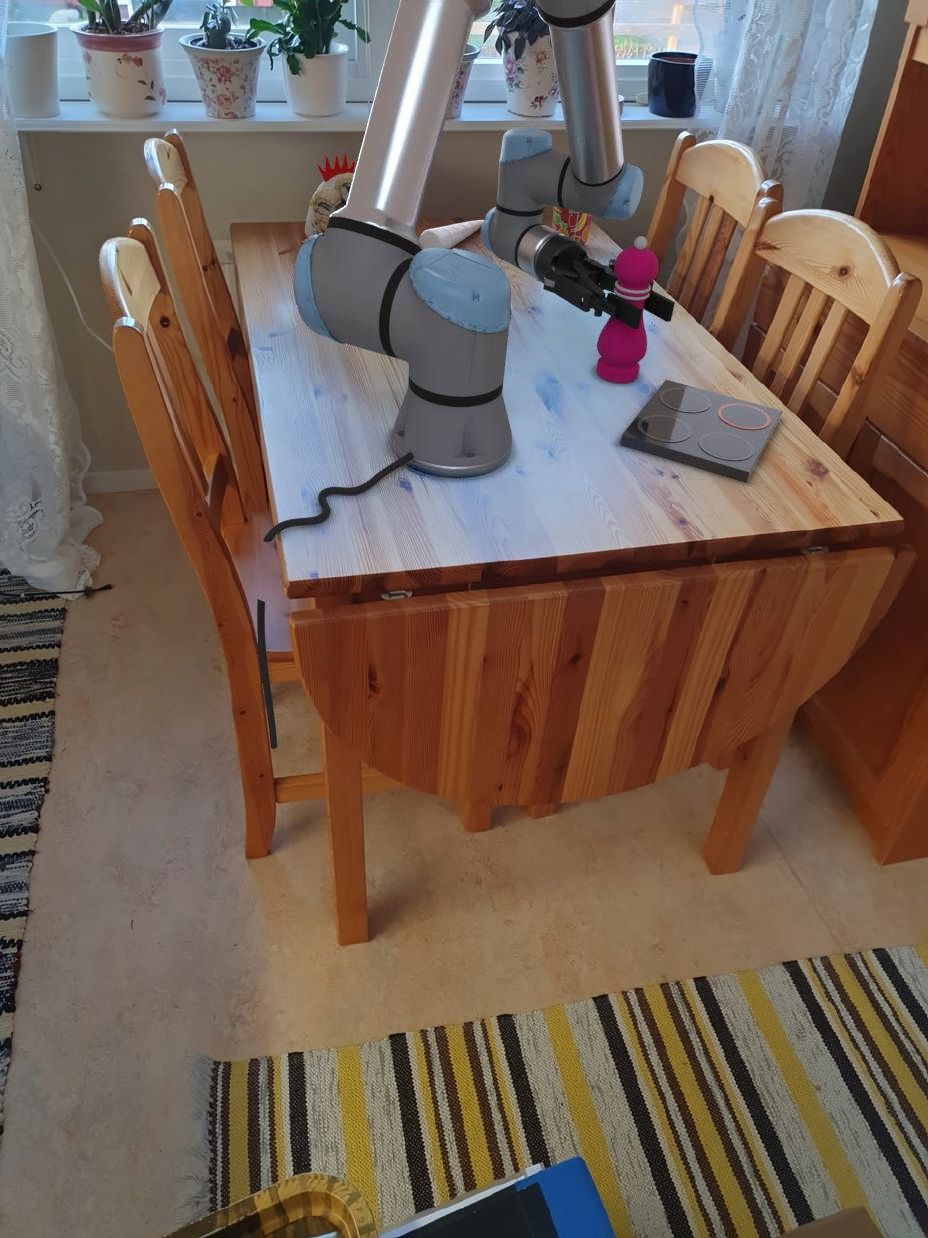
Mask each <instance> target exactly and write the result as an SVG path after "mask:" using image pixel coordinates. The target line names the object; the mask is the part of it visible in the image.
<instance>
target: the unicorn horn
mask: <svg viewBox="0 0 928 1238" xmlns="http://www.w3.org/2000/svg"><path fill="white" fill-rule="evenodd" d="M484 220H485V219H476V220H469V221H464V222H459V223H453V224H448V225H443V226H438V227H434V228H429V229H425V230H423V232H421V234H420V235H419V238H418V239H419V241H420V243H421V245H422V247H423V249H422V250H425V249H429V248H437V247H445V248H447V249H449V250H451V249H453V247H455V246H456V245H458V244H460V243H461V242H463V241H464V240H465V239H468V237H470V236H472V234H474V233H476V232H477V231H478V230H479V229H481V226H482V223H483V222H484Z"/></svg>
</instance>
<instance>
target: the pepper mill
mask: <svg viewBox="0 0 928 1238" xmlns="http://www.w3.org/2000/svg"><path fill="white" fill-rule="evenodd" d="M647 246H648V240H647V238H646V237H645V236H641V235H640V236H638V237H636V238H635V239H634V242H633V246H629V247H627V248H625V249H623V250H622V251H621V252H619V254H618V255H617V257H616V258H615V260H616V262H615V265H614V272H615V275H616V277H617V279H618V280H617V281H616V282H615V289H614V294H615V295H617V296H619V297H621V298H623V299H624V300H626V301H628V302H630V303H631V304H633V305H635V306H637V307H639V308H640V309H642V314H641V319H640V325H639V329H635V330H634V329H633V328H631V327H629V326H627V325H626V324H624V323H622V322H621V321H619V320H617V319H615V318H614V317H612V316H610V315H609V318H608V320H607V321H606V323H605V325H604V326H603V327H602V329H601V332H600V334H599V336H598V339H597V343H596V349H597V352H598V354H599V356H600V357H599V358H598V359H597V363H596V369H595V372H596V375H597V376H598V377H599V378H600V379H602V380H604V381H606V382H609V383H613V384H629V383H633V382H635V381H636V380H638V377H639V375H640V374H639V373H640V368H641V366H640V363H639V362H640V361H642V360H643V359H644V358H645V356H646V354H647V349H648V336H647V331H646V326H645V322H644V304H645V300H646V299H647V298H648V297H649V295H650V293H649V291H650V289H651V286H650V283H651V282H652V281H655V279H656V278H657V276H658V273H659V260H658V258H657V255H656V254H655V253H654V252H653V251H652V250H651V249H648V248H647Z"/></svg>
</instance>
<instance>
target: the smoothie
mask: <svg viewBox="0 0 928 1238" xmlns="http://www.w3.org/2000/svg"><path fill="white" fill-rule="evenodd" d="M567 153H569V151H568V152H567ZM592 218H593V215H590V214H585V213H581V212H577V211H573V210H569V209H564V208H559V207H555V206H553V209H552V227H551V228H552V229H554V230H556V231H558V232H560V233H562V234H564V235H565V236H567V237H569V238H571V239H573V240H575V241H577V242H578V243H580V244H581V245H582V246H583V247H585V244H586V243H587V242H588V239H589V233H590V227H591V223H592Z"/></svg>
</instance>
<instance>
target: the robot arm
mask: <svg viewBox="0 0 928 1238" xmlns="http://www.w3.org/2000/svg"><path fill="white" fill-rule="evenodd" d="M617 1H618V0H535V5H536V11H537V13H538V16H539V18H540V19H541V20H542V21H543V22H544V24H546V25H547V26H548V30H549V36H550V42H551V48H552V49H551V50H552V55H553V60H554V68H555V72H556V79H557V80H556V81H557V85H558V92H559V97H560V98H559V99H560V103H561V110H562V116H563V122H564V128H565V134H566V135H565V136H566V142H567V147H568V152H569V153H568V152H566V151H562V150H556V149H553V137H552V134H550V132H549V131H546V130H543V129H541V128H537V127H529V126H520V127H519V126H517V127H513V128H511V129H508V130H507V131H506V132H505V133H504V134H503V135H502V141H501V142H502V143H501V148H500V155H499V160H498V178H497V194H496V205H495V206H494V207H493V208H491V209H490V210H489V211H488V212H487V213H486V215H485V218H484V219H483V220H484V222H483V223H482V226H481V228H480V237H481V241H482V243H483V245H484V246H485V247H486V249H487V250H488V251H490V252H491V253H492V254H494V256H495V257H496V258H498V259H500V260H501V261H504V262H505V263H509V264H510V265H511V266H514V267H515V268H517V269H519V270H520V271H522V272H524V273H525V274H527V275H529V276H531V277H532V278H534V279H536V281H537V282H541V283H542V284H543V287H542V289H543V291H546V292H550V293H552V294H555V295H556V296H558V297H559V298H561V299H563V300H564V301H566V302H567V303H569V304H570V305H572V306H574V307H576V308H577V309H578V310H580V311H582V312H583V313H589V312H591V309H593V310H594V312H593V316H594V317H598V318H600V317H603V313H605V314H607V315H608V316H609V317H610V316H612V317H614V318H615V319H617V320H619V321H621V322H622V323H624V324H626V325H627V326H629V327H631V328H633V329H634V330H635V329H639V325H640V319H641V314H642V309H640V308H639V307H637V306H635V305H633V304H631V303H630V302H628V301H626V300H624V299H623V298H621V297H619V296H617V295H616V294H615V293H614V289H615V282H616V281H617V280H618V279H617V277H616V275H615V272H614V265H615V262H616V258H610V259H609V261H608V264H602V263H600V261H598V260H595V259H593V258H591V257H589V256H588V253H587V251H586V249H585V246H582V245H581V244H580V243H578V242H577V241H575V240H573V239H571V238H569V237H567V236H565V235H564V234H562V233H560V232H558V231H556V230H554V229H552V227H551V226H548V225H546V224H544V223H543V219H544V212H545V207H546V206H551V207H554V206H555V207H559V208H564V209H569V210H573V211H577V212H581V213H585V214H590V215H592V216H594V217H599V218H601V219H610V220H616V221H628V220H630V219H631V218H632V217H633V216H634V214H635V213H636V211H637V209H638V206H639V204H640V201H641V199H642V198H641V197H642V193H643V189H644V173H643V171H642V170H641V168H640V167H638V166H635V165H632V164H631V163H629V162H628V163H626V162H625V158H624V146H623V144H624V143H623V134H622V133H623V132H622V119H621V108H620V107H621V106H620V95H619V83H618V73H617V72H618V71H617V59H616V47H615V34H614V21H613V9H614V7H615V5H616V3H617ZM493 2H494V0H399V3H398V8H397V12H396V16H395V19H394V22H393V27H392V30H391V34H390V36H389V37H390V38H389V42H388V45H387V49H386V51H385V52H386V53H385V56H384V59H383V65H382V68H381V72H380V75H379V79H378V84H377V87H376V91H375V95H374V98H373V102H372V106H371V109H370V114H369V117H368V120H367V125H366V129H365V132H364V136H363V140H362V143H361V147H360V151H359V155H358V158H357V163H356V165H355V169H354V177H353V181H352V185H351V188H350V192H349V196H348V200H347V204H346V205H345V206H344V207H343V208H341V209H340V210H338V211H336V212H334V213H332V214H331V215H330V217H329V221H328V224H327V228H326V232H325V233H320V234H316V235H313V236H311V237H309V238H308V239H307V241H306V244H303V246H302V245H301V247H300V249H299V251H298V253H297V256H296V259H295V264H294V269H293V281H292V283H293V296H294V301H295V304H296V306H297V310H298V314H299V316H300V318H301V320H302V321H303V323H304V324H305V326H306V327H307V328H308V329H309V330H311V331H312V332H313V333H315V334H316V335H319V336H322V337H325V338H327V339H330V340H332V341H333V342H335V343H338V344H341V345H349V346H353V347H356V348H360V349H362V350H366V351H369V352H372V353H377V354H380V355H383V356H386V357H389V358H394V359H397V360H401V361H404V362H406V363H407V364H408V380H407V381H408V382H407V383H408V384H407V390H406V393H405V395H404V398H403V401H402V403H401V406H400V408H399V411H398V414H397V417H396V419H395V422H394V424H393V430H392V448H393V451H394V453H395V454H396V456H397V457H398V459H396V460H394V461H393V462H391V463H390V464H389V465H387V466H385V467H384V468H382V469H381V470H380V471H379V472H377V473H376V474H374V475H373V476H372V477H371V478H369V479H368V480H367V481H365V482H363V483H362V484H359V485H356V486H351V487H346V486H345V487H343V486H329V487H325V488H323V489H322V490H321V491H319V493H318V495H317V500H318V503H319V505H320V507H321V510H322V512H320V513H319V514H318V515H315V516H309V517H296V518H290V519H285V520H283V521H281V522H279V523H277V524H275V525H274V526H273V527H272V528H270V529H269V531H268V532H267V533H266V534H265V536H264V537H263V539H262V541H263V543H270V542H272V541H273V540H274V538H275V537H276V536H277V535H278V534H279V533H281V532H282V531H283V530H286V529H290V528H295V527H303V526H313V525H317V524H320V523H323V522H324V521H326V520H327V519H328V518H329V517H330V515H331V507H330V504H329V503H328V501H327V499H326V498H327V497H328V496H329V495H343V496H344V495H346V496H347V495H348V496H351V495H358V494H361V493H364V492H366V491H367V490H369V489H371V488H373V487H374V486H375V485H377V484H378V483H379V482H380V481H381V480H382V479H384V478H385V477H387V476H388V475H390V474H391V473H392V472H395V471H396V470H397V469H399V468H400V467H402V466H404V465H405V464H406V465H408V466H409V467H412V468H414V469H415V470H417V471H420V472H423V473H426V474H430V475H434V476H440V477H448V478H449V477H450V478H465V477H473V476H475V477H476V476H478V475H479V476H480V475H483V474H487V473H490V472H492V471H494V470H496V469H498V468H500V467H501V466H503V465H504V464H505V463H506V462H508V460H509V458H510V456H511V454H512V448H513V447H512V446H513V434H512V432H513V431H512V428H511V424H510V420H509V415H508V411H507V408H506V403H505V399H504V395H503V391H504V379H505V371H506V360H507V352H508V351H507V350H508V344H509V343H508V341H509V334H510V333H509V332H510V324H511V322H512V314H513V313H512V287H511V281H510V280H509V278H508V276H507V275H506V273H505V271H504V270H503V269H502V268H501V267H500V266H499V265H498V264H496V263H495V262H493V260H491V259H489V258H487V257H485V256H483V255H480V254H477V253H475V252H472V251H470V250H466V249H462V248H455V247H454V248H452V249H447V248H445V247H437V248H429V249H425V250H422V249H423V247H422V245H421V243H420V241H419V239H420V238H419V237H418V235H417V231H416V228H417V224H418V221H419V216H420V214H421V210H422V206H423V203H424V199H425V195H426V192H427V189H428V185H429V181H430V177H431V174H432V171H433V166H434V163H435V160H436V156H437V152H438V149H439V145H440V142H441V138H442V134H443V132H444V127H445V123H446V121H447V116H448V113H449V110H450V106H451V102H452V99H453V96H454V92H455V89H456V83H457V82H458V77H459V74H460V70H461V67H462V63H463V59H464V56H465V53H466V49H467V45H468V42H469V38H470V35H471V31H472V28H473V24H474V23H475V22H476V21H478V20H480V19H482V18H484V17H486V16H487V15H488V14H489V13H490V12H491V8H492V5H493ZM654 284H655V280H653V281H652V282H651V283H650V286H651V289H650V291H649V293H650V295H649V297H648V298H647V299H646V300H645V304H644V310H645V311H647V312H648V313H649V314H651V315H654V316H655V317H657V318H659V319H660V320H663V321H664V322H666V323H669V322H672V319H673V314H674V310H675V309H674V308H675V304H676V302H675V301H673V300H672V299H670V298H668V297H666V296H664V295H663V294H661V293H659V292H657V291H655V290H654V289H653V288H654ZM605 291H607V295H606V292H605ZM644 310H643V311H644ZM256 604H257V605H256V632H257V634H256V635H257V649H258V660H259V666H260V676H261V680H262V690H263V695H264V696H263V697H264V701H265V709H266V716H267V724H268V733H269V747H270V749H271V750H276V749H277V748H278V738H277V737H278V736H277V726H276V720H275V710H274V702H273V695H272V691H271V690H272V687H271V680H270V674H269V673H270V672H269V665H268V658H267V646H266V645H267V644H266V601H264V600H261V599H259V598H257V602H256Z"/></svg>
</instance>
